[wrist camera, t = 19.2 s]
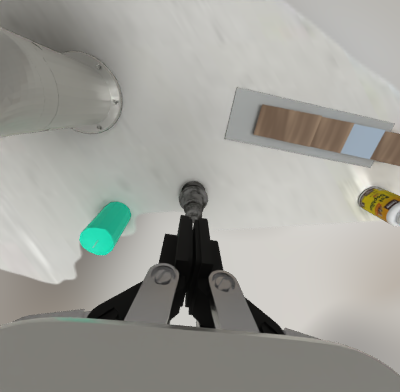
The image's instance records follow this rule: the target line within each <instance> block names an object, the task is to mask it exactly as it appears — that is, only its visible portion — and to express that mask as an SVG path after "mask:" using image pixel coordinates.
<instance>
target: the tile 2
mask: <svg viewBox="0 0 400 392" xmlns="http://www.w3.org/2000/svg"><path fill="white" fill-rule="evenodd" d="M354 124H355V123H351V122H346V121H341V120H336V119H331V118H326V117H322V118H321V120H320V123H319V125H318V128H317V130H316V133H315V135H314V137H313V140H312V142H311V145H310V147H314V148H319V149H323V150H327V151H332V152H336V153H341V151H342V149H343V146H344V144H345V142H346V140H347V138H348V136H349V134H350V132H351V130H352V128H353V126H354Z"/></svg>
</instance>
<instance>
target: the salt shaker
mask: <svg viewBox="0 0 400 392" xmlns="http://www.w3.org/2000/svg"><path fill="white" fill-rule="evenodd" d="M179 202H180V205H181V207H182V208H183V209H184V211H185V213H186V214H185V216H189V219H192V223H194V221H195V220H198V218H202V212H203V209H204V208H205V206H206V205H207V202H208V196H207V193H206V192H205V188H204V187H203V185H201V184H200V183H198V182H189V183H187V184H185V185H184V186H183V188H182V191H181V194H180V196H179Z"/></svg>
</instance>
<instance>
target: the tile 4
mask: <svg viewBox="0 0 400 392" xmlns="http://www.w3.org/2000/svg"><path fill="white" fill-rule="evenodd" d="M370 159H372V160H376V161H380V162H385V163H389V164H393V165H398V166H400V134H397V133H392V132H387V131H385V132H384V134H383V136H382V138H381V140H380V141H379V143H378V145H377V147H376V149H375V151H374V152H373V154H372V156H371V158H370Z"/></svg>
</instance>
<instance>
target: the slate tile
mask: <svg viewBox="0 0 400 392" xmlns="http://www.w3.org/2000/svg"><path fill="white" fill-rule="evenodd" d="M385 131H386V130H382V129H377V128H372V127H367V126H362V125H357V124H354V126H353V128H352V130H351V132H350V134H349V136H348V138H347V140H346V142H345V144H344V146H343V149H342V151H341V153H343V154H348V155H352V156H357V157H361V158H366V159H370V158H371V156H372V154H373V152H374V151H375V149H376V147H377V145H378V143H379V141H380V140H381V138H382V136H383V134H384V132H385Z"/></svg>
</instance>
